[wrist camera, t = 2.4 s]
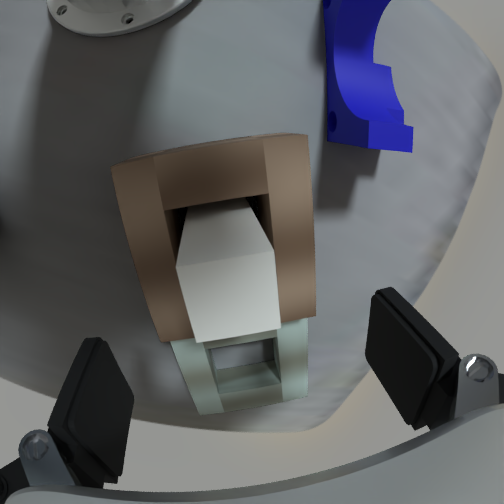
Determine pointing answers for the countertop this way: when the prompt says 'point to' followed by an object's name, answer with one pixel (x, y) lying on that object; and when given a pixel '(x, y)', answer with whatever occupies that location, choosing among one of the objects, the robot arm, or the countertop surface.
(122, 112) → the countertop surface
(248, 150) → the socket block
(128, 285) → the countertop surface
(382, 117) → the blue curved block
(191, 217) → the peg
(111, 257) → the countertop surface
